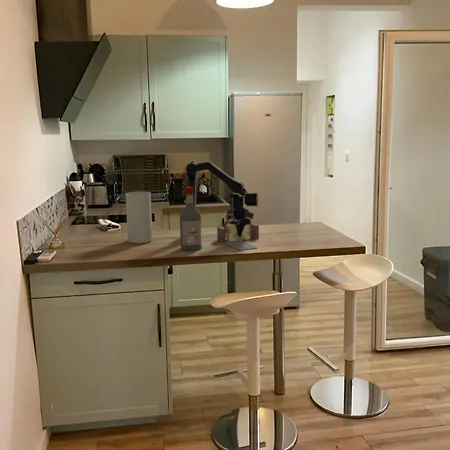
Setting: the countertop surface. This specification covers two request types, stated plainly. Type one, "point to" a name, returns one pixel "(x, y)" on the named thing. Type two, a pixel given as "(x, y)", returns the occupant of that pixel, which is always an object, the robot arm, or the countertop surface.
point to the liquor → (190, 225)
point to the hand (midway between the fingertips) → (238, 235)
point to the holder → (253, 232)
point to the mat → (240, 245)
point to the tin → (226, 224)
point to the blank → (233, 234)
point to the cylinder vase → (139, 217)
